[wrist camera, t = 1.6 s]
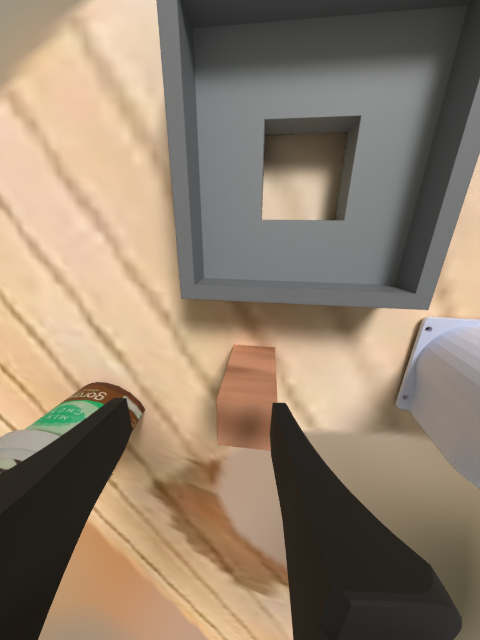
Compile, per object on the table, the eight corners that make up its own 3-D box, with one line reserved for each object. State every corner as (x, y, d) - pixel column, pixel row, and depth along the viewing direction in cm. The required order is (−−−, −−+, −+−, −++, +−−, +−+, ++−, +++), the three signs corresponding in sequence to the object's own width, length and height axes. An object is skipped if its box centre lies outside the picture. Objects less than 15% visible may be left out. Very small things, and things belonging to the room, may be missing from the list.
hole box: (389, 290, 19) (428, 309, 14) (201, 283, 21) (181, 298, 16) (458, 18, 13) (561, -97, 9) (189, 39, 15) (152, -47, 10)
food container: (131, 362, 25) (49, 441, 16) (156, 407, 27) (96, 500, 18) (46, 385, 28) (-67, 463, 18) (73, 424, 30) (-16, 512, 20)
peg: (272, 382, 24) (273, 451, 16) (233, 378, 24) (217, 444, 17) (274, 347, 22) (277, 406, 15) (233, 344, 23) (216, 400, 15)
